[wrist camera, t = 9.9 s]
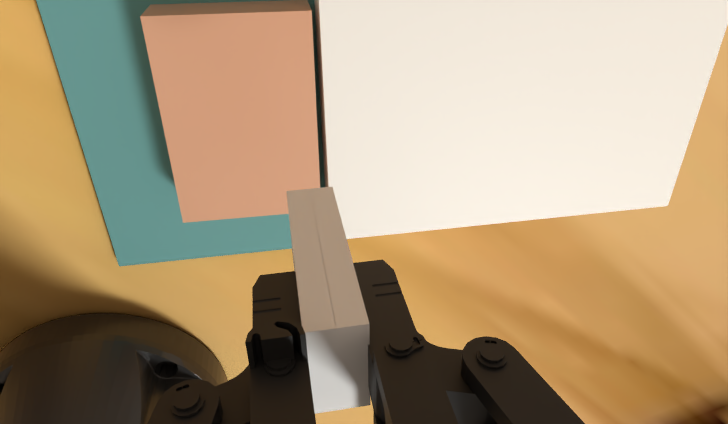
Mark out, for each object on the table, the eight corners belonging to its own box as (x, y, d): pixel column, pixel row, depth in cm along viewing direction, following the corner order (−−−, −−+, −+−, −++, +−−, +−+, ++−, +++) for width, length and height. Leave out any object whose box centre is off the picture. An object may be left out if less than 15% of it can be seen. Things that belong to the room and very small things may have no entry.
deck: (637, 182, 35) (667, 205, 32) (325, 212, 32) (331, 240, 29) (708, -64, 27) (754, -58, 25) (310, -51, 25) (316, -44, 22)
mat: (327, 239, 33) (328, 244, 32) (121, 261, 31) (119, 266, 31) (307, -103, 23) (308, -102, 23) (10, -97, 22) (6, -97, 21)
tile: (316, 187, 30) (321, 210, 28) (188, 198, 29) (182, 222, 27) (307, -1, 25) (311, 10, 23) (150, 4, 24) (140, 16, 22)
